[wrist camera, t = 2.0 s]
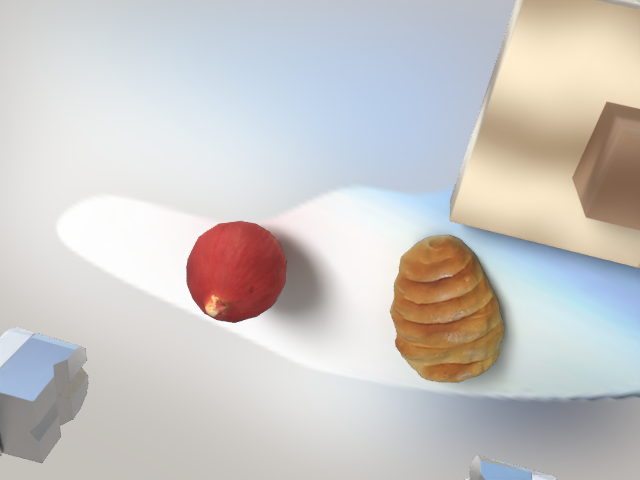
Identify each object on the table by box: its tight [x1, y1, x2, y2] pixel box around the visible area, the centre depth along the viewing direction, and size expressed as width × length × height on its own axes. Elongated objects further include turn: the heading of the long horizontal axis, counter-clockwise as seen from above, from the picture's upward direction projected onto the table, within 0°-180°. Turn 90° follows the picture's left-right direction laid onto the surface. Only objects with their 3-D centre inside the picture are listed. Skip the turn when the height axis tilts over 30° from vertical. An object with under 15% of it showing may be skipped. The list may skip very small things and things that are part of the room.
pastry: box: [390, 235, 504, 382], centre depth 37 cm, size 9×7×4 cm
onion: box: [186, 221, 287, 323], centre depth 35 cm, size 6×6×8 cm
